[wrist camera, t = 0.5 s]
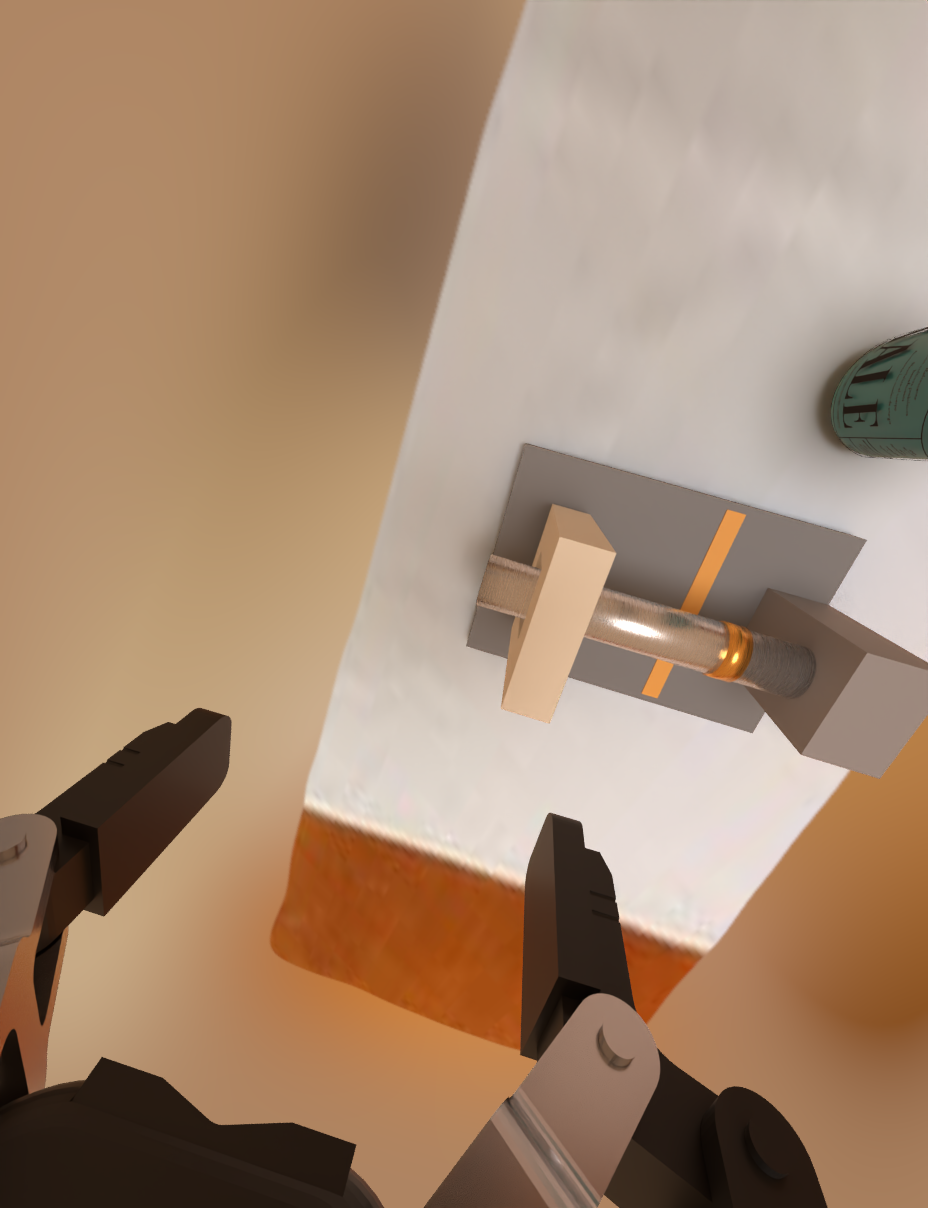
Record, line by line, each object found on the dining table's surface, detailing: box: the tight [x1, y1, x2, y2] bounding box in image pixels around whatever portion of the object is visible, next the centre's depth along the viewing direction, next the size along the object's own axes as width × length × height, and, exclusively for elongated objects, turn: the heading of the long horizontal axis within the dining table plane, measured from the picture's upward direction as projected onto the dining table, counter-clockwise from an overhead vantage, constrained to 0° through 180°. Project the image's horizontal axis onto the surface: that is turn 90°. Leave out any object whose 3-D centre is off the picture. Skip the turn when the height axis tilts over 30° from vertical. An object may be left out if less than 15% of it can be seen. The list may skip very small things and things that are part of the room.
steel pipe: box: [476, 554, 816, 699], centre depth 26 cm, size 3×19×3 cm, turn 75°
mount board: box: [466, 444, 928, 779], centre depth 28 cm, size 15×22×12 cm
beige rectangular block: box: [501, 504, 616, 724], centre depth 27 cm, size 9×2×11 cm, turn 165°
